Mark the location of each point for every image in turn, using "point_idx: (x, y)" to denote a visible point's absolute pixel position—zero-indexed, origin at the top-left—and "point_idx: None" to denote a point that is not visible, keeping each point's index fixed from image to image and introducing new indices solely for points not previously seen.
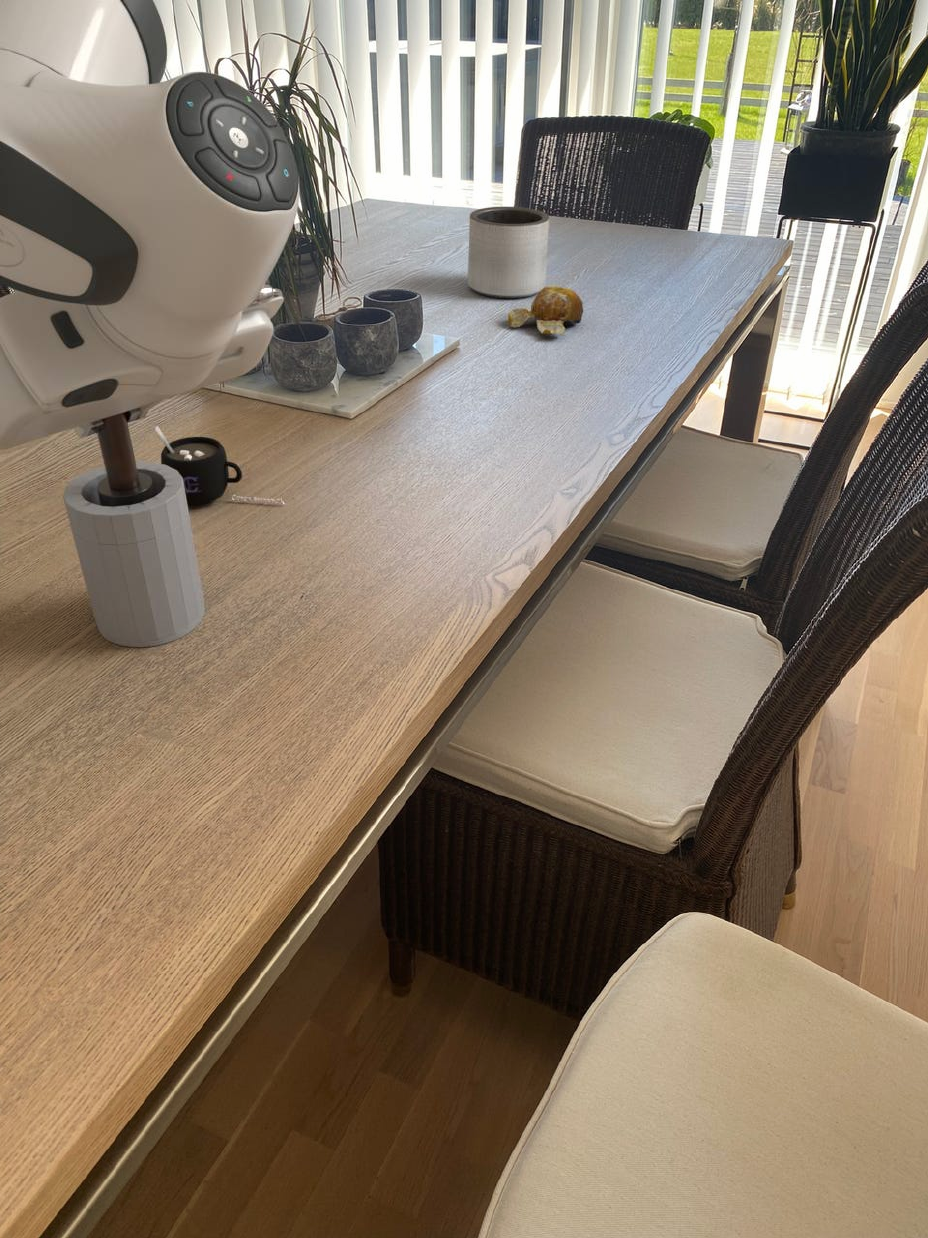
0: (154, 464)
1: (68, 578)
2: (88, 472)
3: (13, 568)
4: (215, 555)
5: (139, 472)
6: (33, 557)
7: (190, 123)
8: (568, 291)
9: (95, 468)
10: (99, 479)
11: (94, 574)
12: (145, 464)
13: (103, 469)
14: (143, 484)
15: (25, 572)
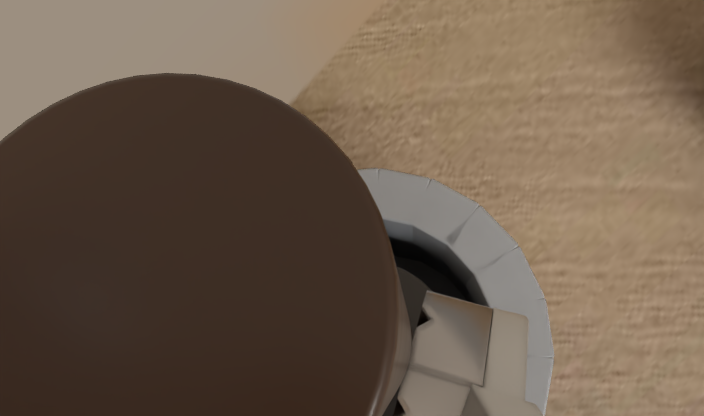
0: (533, 317)
1: (402, 120)
2: (379, 179)
3: (375, 16)
4: (627, 307)
5: (481, 294)
6: (420, 16)
7: None
8: None
9: (411, 176)
10: (383, 221)
11: None
12: (517, 290)
13: (419, 201)
14: (391, 408)
15: (377, 43)
